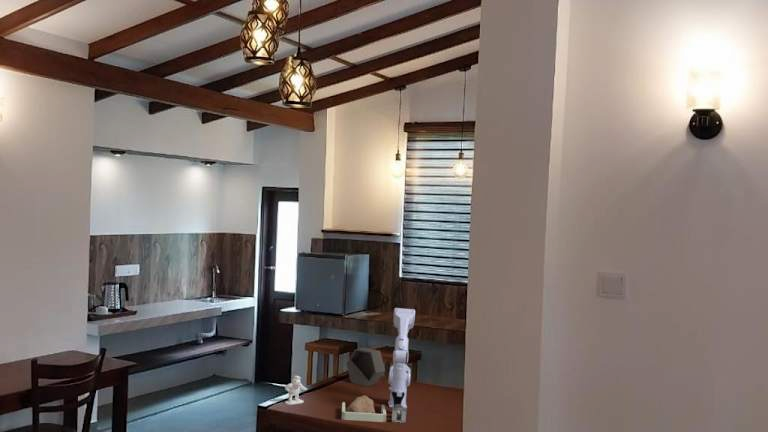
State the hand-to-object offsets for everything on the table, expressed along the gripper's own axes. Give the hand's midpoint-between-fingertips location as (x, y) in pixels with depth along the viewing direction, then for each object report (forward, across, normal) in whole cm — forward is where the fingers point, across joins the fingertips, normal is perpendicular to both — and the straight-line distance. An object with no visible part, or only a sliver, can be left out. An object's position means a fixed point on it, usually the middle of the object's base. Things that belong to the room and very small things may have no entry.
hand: (396, 409), depth 302 cm
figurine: (+2, -8, -44) cm, 45 cm away
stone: (+2, +7, -15) cm, 17 cm away
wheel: (+2, +7, 0) cm, 7 cm away
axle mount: (+2, +12, 0) cm, 12 cm away
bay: (+2, +5, -14) cm, 15 cm away
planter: (+2, -53, -12) cm, 55 cm away
